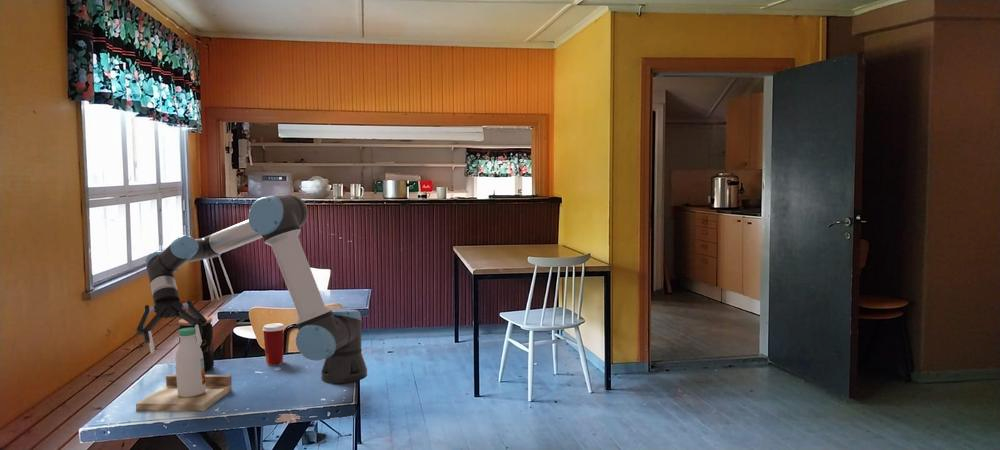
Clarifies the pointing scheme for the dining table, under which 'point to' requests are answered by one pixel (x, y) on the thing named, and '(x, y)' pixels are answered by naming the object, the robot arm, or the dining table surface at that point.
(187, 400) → the light wooden flat tray
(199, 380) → the milk bottle
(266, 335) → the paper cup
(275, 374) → the dining table surface
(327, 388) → the dining table surface
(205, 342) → the coffee jar
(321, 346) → the robot arm
